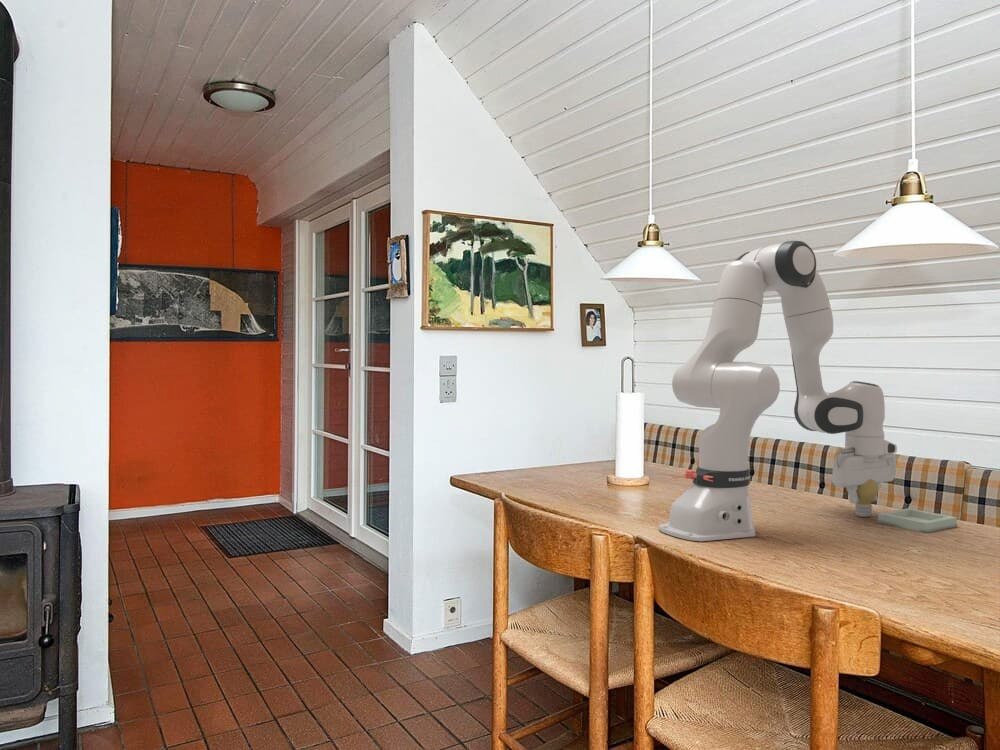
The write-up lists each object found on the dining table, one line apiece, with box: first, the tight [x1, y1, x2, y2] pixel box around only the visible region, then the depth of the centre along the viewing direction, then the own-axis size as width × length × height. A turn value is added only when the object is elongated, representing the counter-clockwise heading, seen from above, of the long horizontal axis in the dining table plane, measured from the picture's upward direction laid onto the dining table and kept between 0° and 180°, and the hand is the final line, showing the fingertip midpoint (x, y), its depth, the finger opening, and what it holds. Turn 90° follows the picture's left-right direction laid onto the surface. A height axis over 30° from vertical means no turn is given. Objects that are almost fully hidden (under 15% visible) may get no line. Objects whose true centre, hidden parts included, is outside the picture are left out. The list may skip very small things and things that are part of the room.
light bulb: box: [854, 479, 879, 518], centre depth 193 cm, size 6×6×10 cm
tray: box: [877, 507, 958, 534], centre depth 184 cm, size 12×12×2 cm
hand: (863, 501), depth 193 cm, fingers closed on light bulb, 5 cm apart
